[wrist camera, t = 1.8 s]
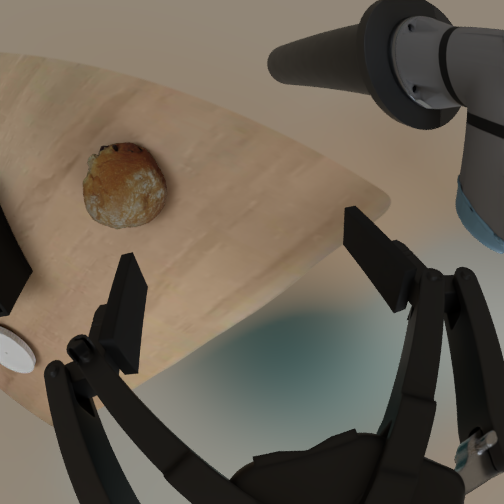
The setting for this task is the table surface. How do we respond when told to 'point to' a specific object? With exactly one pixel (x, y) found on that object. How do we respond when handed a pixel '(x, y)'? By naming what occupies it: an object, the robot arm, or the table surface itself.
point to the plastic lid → (15, 352)
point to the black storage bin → (10, 268)
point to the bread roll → (123, 186)
